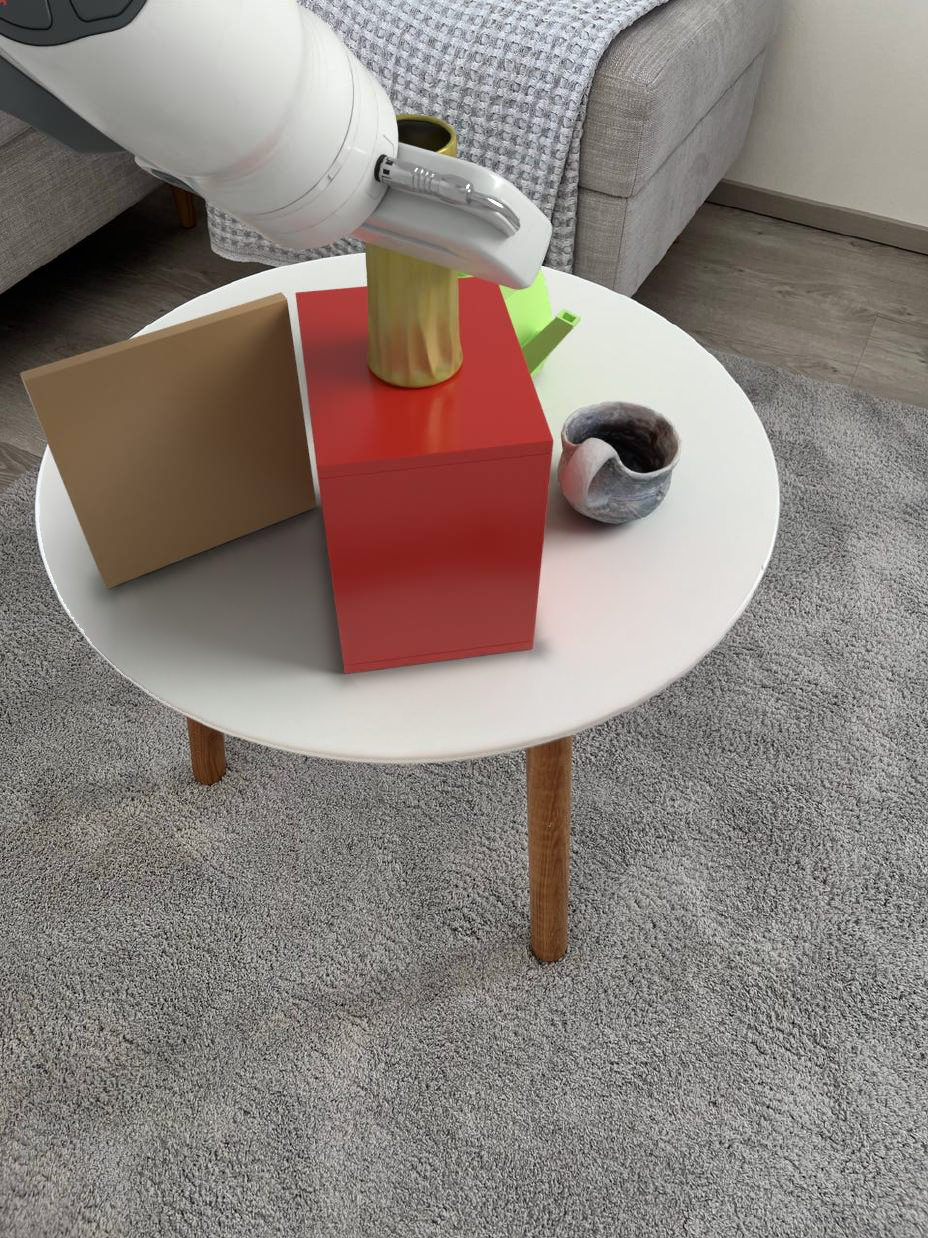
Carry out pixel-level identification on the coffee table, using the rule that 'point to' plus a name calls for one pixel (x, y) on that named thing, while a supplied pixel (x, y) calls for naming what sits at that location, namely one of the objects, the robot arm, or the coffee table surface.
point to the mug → (617, 460)
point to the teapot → (535, 321)
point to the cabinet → (428, 486)
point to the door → (179, 436)
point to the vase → (413, 293)
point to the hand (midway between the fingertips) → (416, 241)
